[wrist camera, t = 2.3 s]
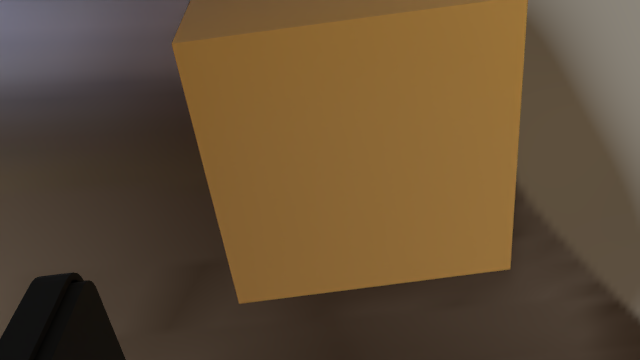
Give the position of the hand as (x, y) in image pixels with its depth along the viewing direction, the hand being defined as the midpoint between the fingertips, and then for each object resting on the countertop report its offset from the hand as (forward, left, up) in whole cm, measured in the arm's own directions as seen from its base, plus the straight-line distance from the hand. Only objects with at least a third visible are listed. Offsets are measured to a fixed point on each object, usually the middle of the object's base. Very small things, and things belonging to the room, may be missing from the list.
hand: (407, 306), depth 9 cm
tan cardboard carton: (-1, 0, -8) cm, 8 cm away
